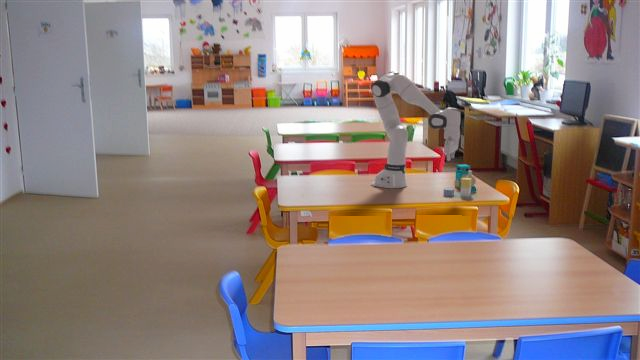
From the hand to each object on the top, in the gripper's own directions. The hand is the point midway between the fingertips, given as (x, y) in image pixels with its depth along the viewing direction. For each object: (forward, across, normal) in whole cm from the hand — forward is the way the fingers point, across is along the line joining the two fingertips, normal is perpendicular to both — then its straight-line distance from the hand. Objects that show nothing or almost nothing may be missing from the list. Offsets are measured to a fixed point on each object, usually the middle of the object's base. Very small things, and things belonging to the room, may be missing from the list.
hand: (450, 159), depth 386 cm
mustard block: (+16, +4, -9) cm, 19 cm away
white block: (+21, +4, -9) cm, 24 cm away
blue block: (+23, 0, 0) cm, 23 cm away
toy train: (+23, +23, -5) cm, 33 cm away
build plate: (+23, +4, -9) cm, 25 cm away
